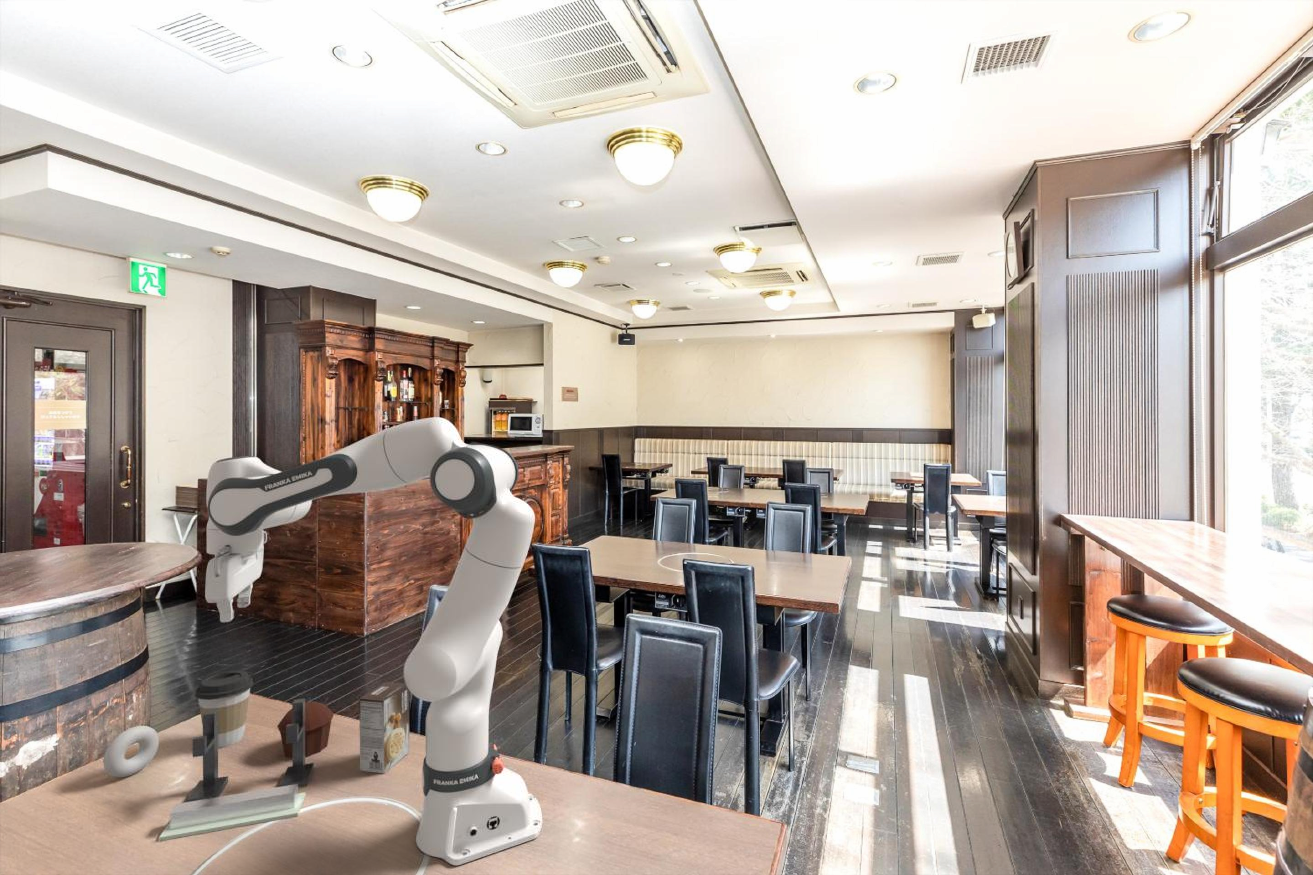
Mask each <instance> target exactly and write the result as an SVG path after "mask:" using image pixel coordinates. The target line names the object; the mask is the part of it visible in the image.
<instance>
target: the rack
mask: <svg viewBox="0 0 1313 875" xmlns="http://www.w3.org/2000/svg"><path fill="white" fill-rule="evenodd" d="M305 702H306V698H299V699H294V700H293V702H292V704H291V705H292V706H291V709H292V724H287V726H286V744H288V743H292V758H291V760H292V761H291V762H292V764H291V765H292V766H287V768H286V770H285V772H284V774H283V776H282V779H281V780H280V783H279V785H278V787H282V786H288V785H294V784H298V788H302V787H303V788H304V787H307V786H308V784H309V782H310V779H311V777H312V774H313V772H314V769H315V763H314V762H310V763H306V757H305ZM197 757H202V780H201V779H200V780H199V781H198V782H197V783H196V785H195V787H194V788H193V790H192V791H191V793H190V794H189V795H188V796H187V798H186V799H185V802H191V801H197V800H203V799H210V798H216V797H221V796H220V795H221V794H222V792H223V791H224V790H225V787H226V786H227V785H228V782H229V775H227V776H221V777H219V748H218V709H216V710H208V711H206V712H205V713H204V714H203V725H202V735H200V736H199V735H198V736H194V737H193V739H192V758H197Z"/></svg>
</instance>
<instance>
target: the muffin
mask: <svg viewBox="0 0 1313 875" xmlns="http://www.w3.org/2000/svg"><path fill="white" fill-rule="evenodd" d="M333 717H334V713H333V711H332V710H331V709H330V708H329V707H328V706H327V705H326V704H324V703H321V702H318V701H307V702H306V701H305V758H309V757H311V756H313V755H316V754H319V753H321V752H322V751H323V750H324V749H325V748H327V747H328V743H329V738H330V731H331V725H332V720H333ZM287 724H292V708H290V709H289V710H288V711H287V712H286V713H285V715H284V716H283V717H282V718H281V720H280V721H279V723H278V724H277V726H276V727H277V729H278V731H279V734H280V739H281V744H282V748H283V749H282V750H283V755H284V757H286V758H289V759H292V743H288V744H286V726H287Z"/></svg>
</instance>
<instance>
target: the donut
mask: <svg viewBox="0 0 1313 875" xmlns="http://www.w3.org/2000/svg"><path fill="white" fill-rule="evenodd" d="M136 743H137V744H139V746H138V750H137V751H136V753H135V754H134V755H133V756H131V757H130V758H128V759H126V757H125V755H126V752H127V750H128V749H129V748H130V747H131V746H132V745H134V744H136ZM159 745H160V739H159V734H158V732H157V731H156V730H155V729H154V728H153V727H150V726H148V725H137V726H133V727H130V728H128V729H126V730H124V731H122V732H120V734H118V735H117V736H116V737H114V739H113V740H112V741H111V742H110V744H108V746H107V748H106V750H105V752H104V754H103V760H102V763H103V764H102V765H103V767H104V770H105V771H106V772H107V774H109V775H110V776H112V777H115V778H126V777H129V776H132V775H134V774H136V773H138V772H140V771H142V770H143V769H144V768H145V767H146V766H147V765H149V764H150V763H151V761H152V760H153V759H154V757H155V756H156V753H157V751H158V748H159Z"/></svg>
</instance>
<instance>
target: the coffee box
mask: <svg viewBox="0 0 1313 875" xmlns="http://www.w3.org/2000/svg"><path fill="white" fill-rule="evenodd" d="M358 699H359V702H358V703H359V706H358V708H359V709H358V710H359V770H360V771H363V772H372V773H378V774H386V773H387V772H389V771H390V770H391V768H393V767H394V766H395V765H396V764H397V763H398V762H400V761H401V760H402V759H403V758H404V757H405V756H406V755H408V754H409V753H410V691H409V689H408V688H407V686H406V683H405V682H404V683H401V682H390V681H385V682H382V684H380V685H378V686H376V687H375V688H373V689H371V690H370V691H369V692H367V693H366V694H364V695H363V696H361V697H359V698H358Z"/></svg>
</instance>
